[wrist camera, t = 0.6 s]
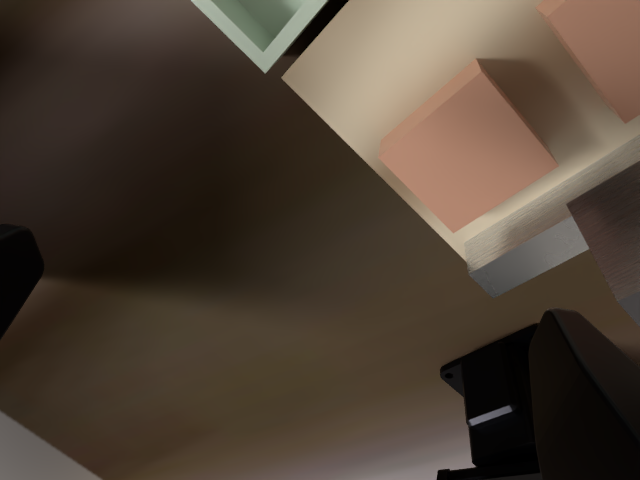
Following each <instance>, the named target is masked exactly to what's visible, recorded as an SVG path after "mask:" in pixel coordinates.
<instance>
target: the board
mask: <svg viewBox="0 0 640 480" xmlns="http://www.w3.org/2000/svg"><path fill="white" fill-rule="evenodd" d="M542 1H543V0H349V1H348V2H347V3H346V4H345V5H344V6H343V8H342V9H341V10H340V11H339V12H338V13H337V14H336V15H335V17H334V18H333V19H332V20H331V21H330V22H329V23H328V25H327V26H326V27H325V28H324V29H323V30H322V31H321V33H320V34H319V35H318V36H317V37H316V38H315V39H314V40H313V42H312V43H311V44H310V45H309V46H308V47H307V48H306V50H305V51H304V52H303V53H302V54H301V55H300V56H299V58H298V59H297V60H296V61H295V62H294V63H293V65H292V66H291V67H290V68H289V69H288V70H287V71H286V73H285V74H284V75H283V76H282V77H281V78H282V79H283V80H284V81H285V82H286V83H287V84H288V85H289V86H290V87H291V88H292V89H293V90H294V91H295V92H296V93H297V94H298V95H299V96H300V97H301V98H302V99H303V100H304V101H305V102H306V103H307V104H308V105H309V106H310V107H311V108H312V109H313V110H314V111H315V112H316V113H317V114H318V115H319V116H320V117H321V118H322V119H323V120H324V121H325V122H326V123H327V124H328V125H329V126H330V127H331V128H332V129H333V130H334V131H335V132H336V133H337V134H338V135H339V136H340V137H341V138H342V139H343V140H344V141H345V142H346V143H347V144H348V145H349V146H350V147H351V148H352V149H353V150H354V151H355V152H356V153H357V154H358V155H359V156H360V157H361V158H362V159H363V160H364V161H365V162H366V163H367V164H368V165H369V166H370V167H371V168H372V169H373V170H374V171H375V172H376V173H377V174H378V175H379V176H381V177H382V178H383V179H384V180H385V181H386V182H387V183H388V184H389V185H390V186H391V187H392V188H393V189H394V190H395V191H396V192H397V193H398V194H399V195H400V196H401V197H402V198H403V199H404V200H405V201H406V202H407V203H408V204H409V205H410V206H411V207H412V208H413V209H414V210H415V211H416V212H417V213H418V214H419V215H420V216H421V217H422V218H423V219H424V220H425V221H426V222H427V223H428V224H429V225H430V226H431V227H432V228H433V229H434V230H435V231H436V232H437V233H438V234H439V235H440V236H441V237H442V238H443V239H444V240H445V241H446V242H447V243H448V244H449V245H450V246H451V247H452V248H453V249H454V250H455V251H456V252H457V253H458V254H459V255H460V256H461V257H462V258H463V259H464V260H465V261H466V262H467V260H466V253H465V246H464V242H466V241H468V240H469V239H471V238H472V237H474V236H476V235H477V234H479V233H481V232H482V231H484V230H485V229H487V228H489V227H490V226H492V225H494V224H495V223H497V222H498V221H500V220H502V219H503V218H505V217H507V216H508V215H510V214H511V213H513V212H515V211H516V210H518V209H520V208H521V207H523V206H524V205H526V204H528V203H529V202H531V201H533V200H534V199H536V198H537V197H539V196H541V195H542V194H544V193H546V192H547V191H549V190H550V189H552V188H554V187H555V186H557V185H559V184H560V183H562V182H563V181H565V180H567V179H568V178H570V177H572V176H573V175H575V174H576V173H578V172H580V171H581V170H583V169H585V168H586V167H588V166H589V165H591V164H593V163H594V162H596V161H598V160H599V159H601V158H602V157H604V156H606V155H607V154H609V153H611V152H612V151H614V150H615V149H617V148H619V147H620V146H622V145H624V144H625V143H627V142H628V141H630V140H632V139H633V138H635V137H637V136H638V135H640V115H639V116H637V117H635V118H634V119H632V120H631V121H629V122H628V123H626V124H625V123H624V122H623V121H622V120H621V119H620V118H618V117H617V116H616V115H615V114H614V113H613V112H612V111H611V110H610V109H609V108H608V107H607V105H606V104H605V103H604V101H603V100H602V99H601V97H600V96H599V94H598V93H597V92H596V90H595V89H594V88H593V86H592V85H591V84H590V82H589V81H588V79H587V78H586V77H585V75H584V74H583V73H582V71H581V70H580V69H579V67H578V66H577V64H576V63H575V62H574V60H573V59H572V58H571V56H570V55H569V53H568V52H567V51H566V49H565V48H564V47H563V45H562V44H561V43H560V41H559V40H558V38H557V37H556V36H555V34H554V33H553V32H552V30H551V29H550V28H549V26H548V25H547V23H546V22H545V21H544V19H543V18H542V17H541V15H540V14H539V12H538V11H537V10H536V8H535V7H536V6H538V5H539V4H540V3H541V2H542ZM475 59H477V60H478V61H479V63H480V64H481V65H482V66H483V68H484V69H485V70H486V71H487V72H488V74H489V75H490V76H491V77H492V79H493V80H494V81H495V82H496V83H497V85H498V86H499V87H500V88H501V90H502V91H503V92H504V93H505V95H506V96H507V97H508V98H509V99H510V101H511V102H512V103H513V104H514V106H515V107H516V108H517V109H518V110H519V112H520V113H521V114H522V115H523V117H524V118H525V119H526V120H527V121H528V123H529V124H530V125H531V126H532V128H533V129H534V130H535V131H536V132H537V134H538V135H539V136H540V137H541V139H542V140H543V141H544V142H545V143H546V145H547V146H548V147H549V149H550V151H551V153H552V154H553V156H554V158H555V159H556V161H557V163H558V165H559V167H557V168H555V169H554V170H552V171H551V172H549V173H548V174H546V175H544V176H543V177H541V178H540V179H538V180H537V181H535V182H533V183H532V184H530V185H529V186H527V187H526V188H524V189H522V190H521V191H519V192H518V193H516V194H515V195H513V196H512V197H510V198H508V199H507V200H505V201H504V202H502V203H501V204H499V205H497V206H496V207H494V208H493V209H491V210H490V211H488V212H486V213H485V214H483V215H482V216H480V217H479V218H477V219H475V220H474V221H472V222H471V223H469V224H468V225H466V226H464V227H463V228H461V229H460V230H458V231H457V232H455V233H452V232H451V231H450V230H449V229H448V228H447V227H446V226H445V225H444V224H443V223H442V222H441V221H440V220H439V219H438V218H437V217H436V216H435V215H434V214H433V213H432V212H431V211H430V210H429V208H428V207H427V206H426V205H425V204H424V203H423V202H422V201H421V200H420V199H419V198H418V197H417V196H416V195H415V194H414V193H413V192H412V191H411V190H410V189H409V188H408V187H407V186H406V185H405V184H404V183H403V182H402V181H401V180H400V179H399V178H398V177H397V176H396V175H395V174H394V173H393V172H392V171H391V170H390V169H389V168H388V167H387V166H386V165H385V164H384V163H383V162H382V161H381V160H380V159H379V158H378V155H379V149H380V143H381V139H383V138H384V137H385V136H386V135H387V134H388V133H390V132H391V131H392V130H393V129H394V128H395V127H397V126H398V125H399V124H400V123H401V122H402V121H404V120H405V119H406V118H407V117H408V116H409V115H411V114H412V113H413V112H414V111H415V110H416V109H418V108H419V107H420V106H421V105H422V104H423V103H425V102H426V101H427V100H428V99H429V98H430V97H432V96H433V95H434V94H435V93H436V92H437V91H439V90H440V89H441V88H442V87H443V86H444V85H445V84H447V83H448V82H449V81H450V80H451V79H452V78H454V77H455V76H456V75H457V74H458V73H459V72H461V71H462V70H463V69H464V68H465V67H466V66H468V65H469V64H470V63H471V62H472V61H473V60H475Z"/></svg>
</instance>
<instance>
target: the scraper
mask: <svg viewBox="0 0 640 480" xmlns="http://www.w3.org/2000/svg"><path fill="white" fill-rule="evenodd" d="M464 246H465V253H466V260H467V267H468V273H469V275H470V276H471V277H472V278H473V279H474V280H475V281H476V282H477V283H478V284H479V285H480V286H481V287H482V288H483V289H484V290H485V291H486V292H487V293H488V294H489V295H490V296H491V297H492V298H495V297H497V296H499V295H501V294H503V293H505V292H507V291H508V290H510V289H512V288H514V287H516V286H518V285H520V284H522V283H524V282H526V281H528V280H530V279H532V278H534V277H536V276H537V275H539V274H541V273H543V272H545V271H547V270H549V269H551V268H553V267H555V266H557V265H559V264H561V263H563V262H565V261H567V260H568V259H570V258H572V257H574V256H576V255H578V254H580V253H582V252H584V251H586V250H588V249H590V251H591V253H592V254H593V256H594V258H595V260H596V262H597V264H598V266H599V268H600V270H601V272H602V273H603V275H604V277H605V279H606V281H607V283H608V285H609V287H610V289H611V291H612V292H613V294H614V296H615V298H616V300H617V302H618V303H619V304H620V305H621V306H622V307H623V308H624V310H625V311H626V312H627V313H628V314H629V315H630V316H631V318H632V319H633V320H634V321H635V322H636V323H637V324H638V325H639V327H640V135H638V136H637V137H635V138H633V139H632V140H630V141H628V142H627V143H625V144H624V145H622V146H620V147H619V148H617V149H615V150H614V151H612V152H611V153H609V154H607V155H606V156H604V157H602V158H601V159H599V160H598V161H596V162H594V163H593V164H591V165H589V166H588V167H586V168H585V169H583V170H581V171H580V172H578V173H576V174H575V175H573V176H572V177H570V178H568V179H567V180H565V181H563V182H562V183H560V184H559V185H557V186H555V187H554V188H552V189H550V190H549V191H547V192H546V193H544V194H542V195H541V196H539V197H537V198H536V199H534V200H533V201H531V202H529V203H528V204H526V205H524V206H523V207H521V208H520V209H518V210H516V211H515V212H513V213H511V214H510V215H508V216H507V217H505V218H503V219H502V220H500V221H498V222H497V223H495V224H494V225H492V226H490V227H489V228H487V229H485V230H484V231H482V232H481V233H479V234H477V235H476V236H474V237H472V238H471V239H469V240H468V241H466V242H464Z"/></svg>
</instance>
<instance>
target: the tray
mask: <svg viewBox="0 0 640 480" xmlns="http://www.w3.org/2000/svg"><path fill="white" fill-rule="evenodd" d="M191 1H192V2H193V3H194V4H195V5H196V6H197V7H198V8H199V9H200V10H201V11H202V12H203V13H204V14H205V15H206V16H207V17H208V18H209V19H210V20H211V21H212V22H213V23H214V24H215V25H216V26H217V27H218V28H219V29H220V30H221V31H222V32H223V33H224V34H225V35H227V36H228V37H229V38H230V39H231V40H232V41H233V42H234V43H235V44H236V45H237V46H238V47H239V48H240V49H241V50H242V51H243V52H244V53H245V54H246V55H247V56H248V57H249V58H250V59H251V60H252V61H253V62H254V63H255V64H256V65H257V66H258V67H259V68H260V69H261V70H262V71H263V72H264V73H266V72H267V71H268V70H269V69H270V68H271V67H272V66H273V65H274V64H275V63H276V62H277V61H278V60H279V59H280V58H281V57H282V56H283V55H284V54H285V52H286V51H287V50H288V49H289V48H290V47H291V45H292V44H293V43H294V42H295V41H296V40H297V38H298V37H299V36H300V35H301V34H302V33H303V31H304V30H305V29H306V28H307V27H308V25H309V24H310V23H311V22H312V21H313V20H314V18H315V17H316V16H317V15H318V14H319V13H320V11H321V10H322V9H323V8H324V7H325V6H326V4H327V3H328V2H329V1H330V0H191Z"/></svg>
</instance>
